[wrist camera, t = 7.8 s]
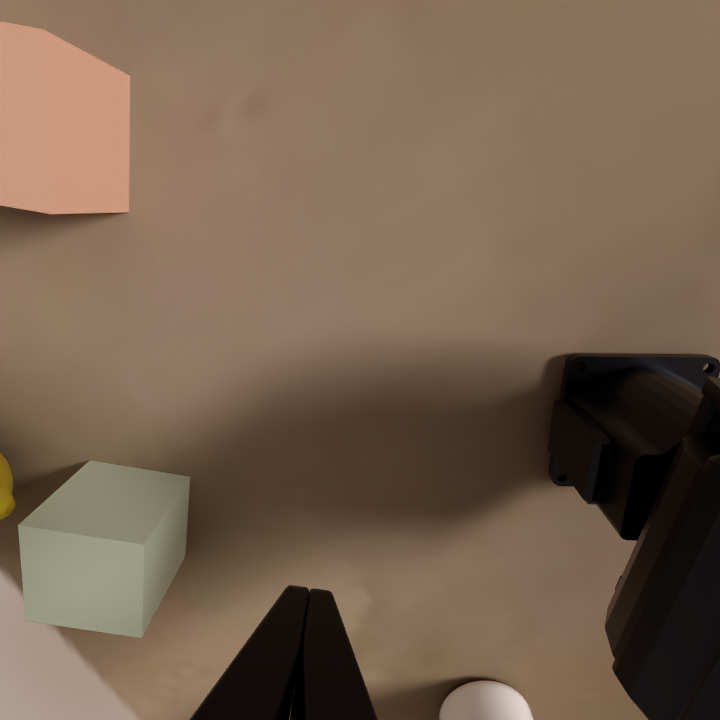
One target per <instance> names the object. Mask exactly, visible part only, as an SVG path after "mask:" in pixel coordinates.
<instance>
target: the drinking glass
mask: <svg viewBox="0 0 720 720" xmlns="http://www.w3.org/2000/svg"><path fill="white" fill-rule="evenodd" d="M439 720H533V716H532V713H531V711H530V708H529V706H528V704H527V702H526V701H525V699H524V698H523V697H522V695H521V694H520V693H519V692H517V691H516V690H515V689H513V688H512V687H510V686H508V685H506V684H503V683H500V682H495V681H475V682H470V683H467V684H464V685H462V686H460V687H458V688H456V689H455V690H453V691H452V692H451V693H450V694H449V695H448V696H447V697H446V699H445V700H444V702H443V704H442V706H441V709H440V714H439Z"/></svg>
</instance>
